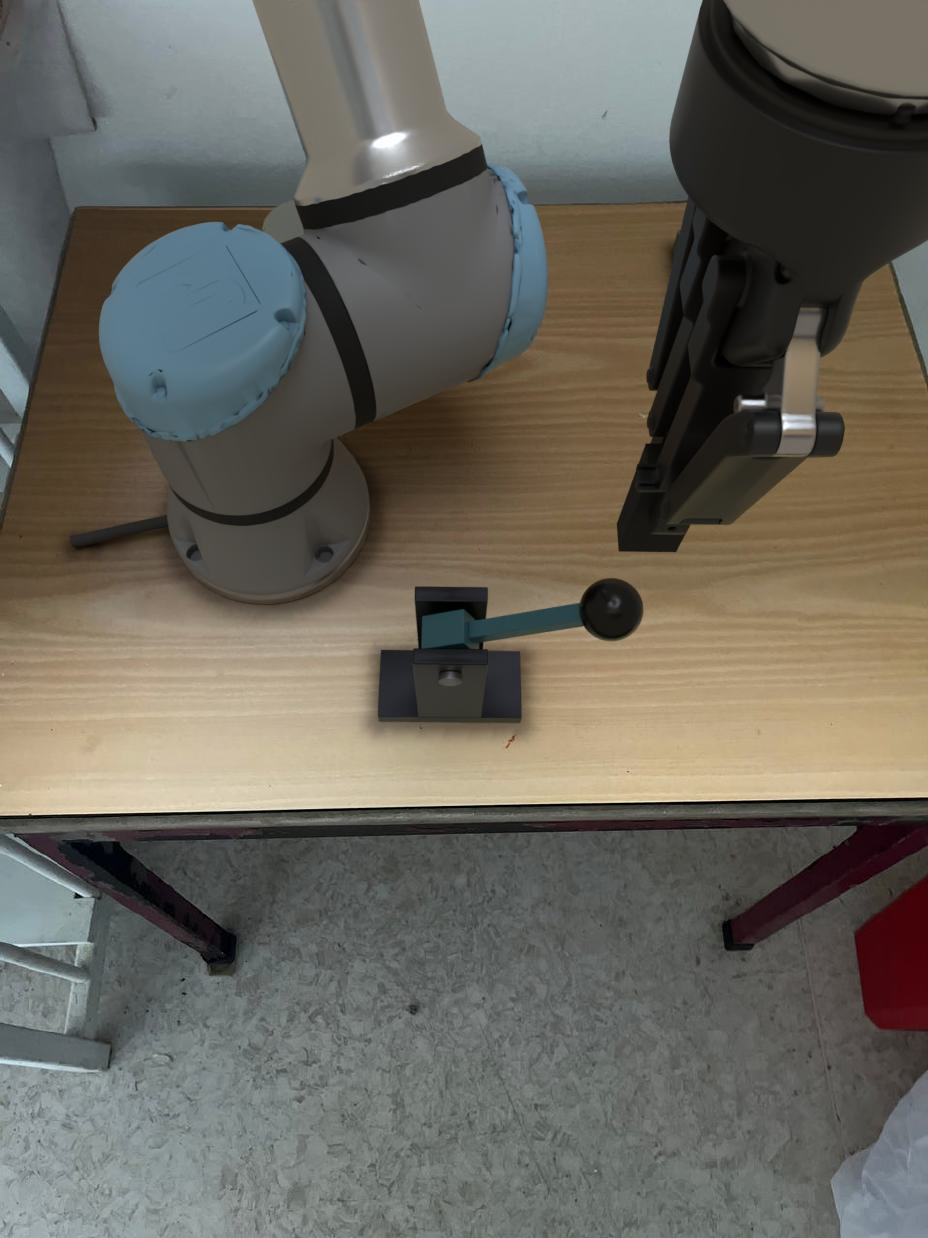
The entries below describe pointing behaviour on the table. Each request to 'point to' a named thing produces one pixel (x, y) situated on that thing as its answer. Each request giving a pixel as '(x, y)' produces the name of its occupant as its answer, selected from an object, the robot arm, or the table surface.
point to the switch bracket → (449, 671)
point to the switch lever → (543, 619)
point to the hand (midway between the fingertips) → (646, 537)
